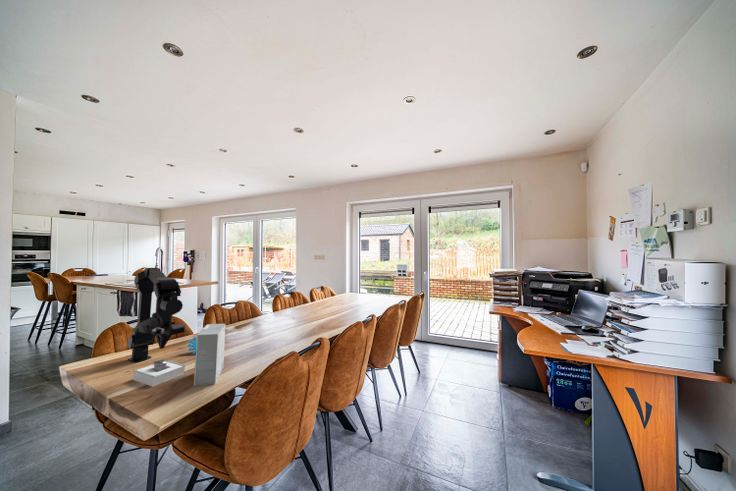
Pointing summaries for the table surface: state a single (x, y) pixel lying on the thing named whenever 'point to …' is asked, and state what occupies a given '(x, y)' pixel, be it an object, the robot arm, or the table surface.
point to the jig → (158, 374)
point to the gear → (192, 345)
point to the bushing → (160, 365)
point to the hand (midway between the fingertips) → (161, 348)
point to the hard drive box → (209, 354)
